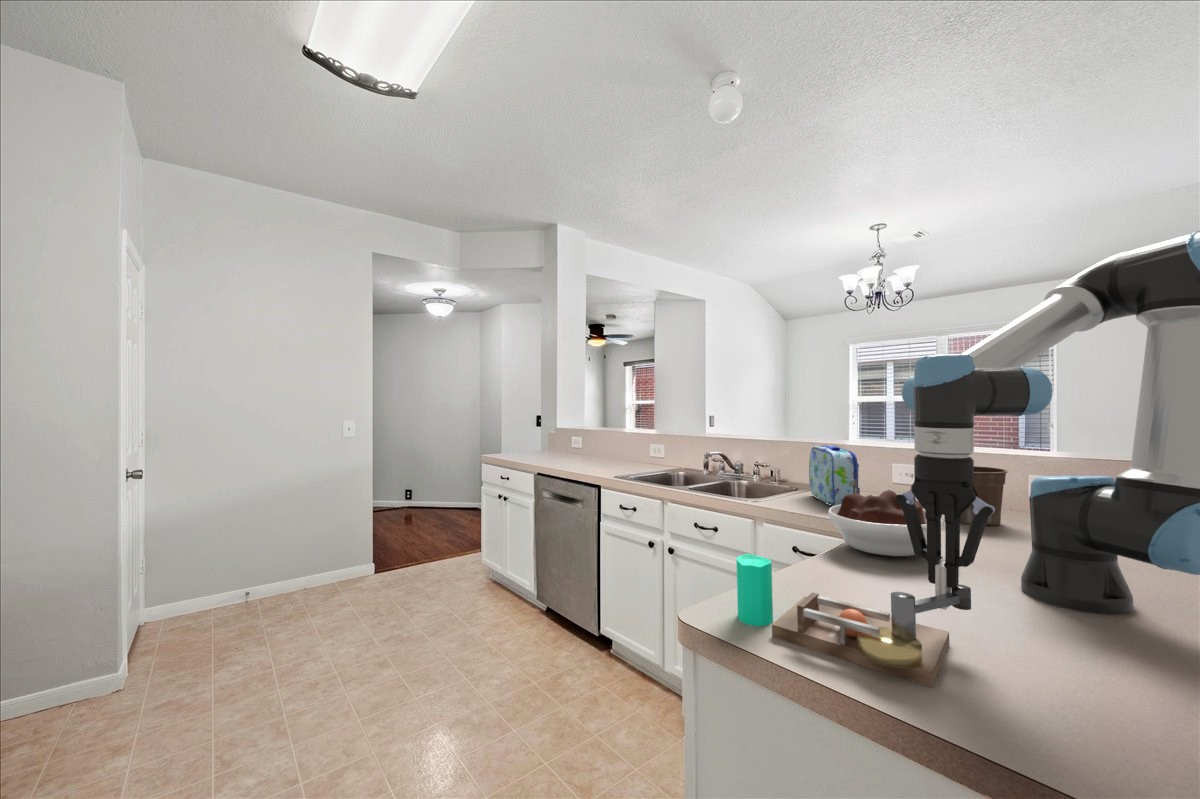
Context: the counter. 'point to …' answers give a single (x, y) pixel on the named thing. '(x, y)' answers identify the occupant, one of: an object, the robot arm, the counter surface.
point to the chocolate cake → (876, 524)
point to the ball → (854, 616)
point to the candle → (754, 590)
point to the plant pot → (987, 492)
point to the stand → (826, 633)
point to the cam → (907, 628)
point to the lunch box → (833, 473)
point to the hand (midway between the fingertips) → (943, 606)
